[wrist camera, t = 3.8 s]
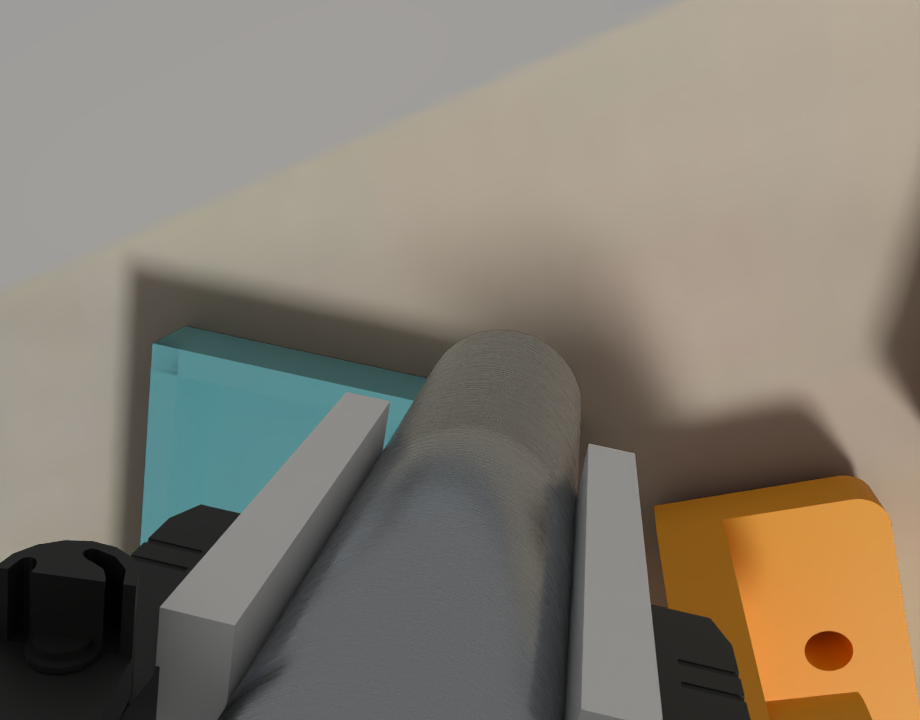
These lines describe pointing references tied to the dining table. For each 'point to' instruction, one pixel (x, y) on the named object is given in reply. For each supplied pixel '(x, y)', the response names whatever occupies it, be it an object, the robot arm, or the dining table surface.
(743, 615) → the bracket
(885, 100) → the dining table surface
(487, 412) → the pin
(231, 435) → the tray
